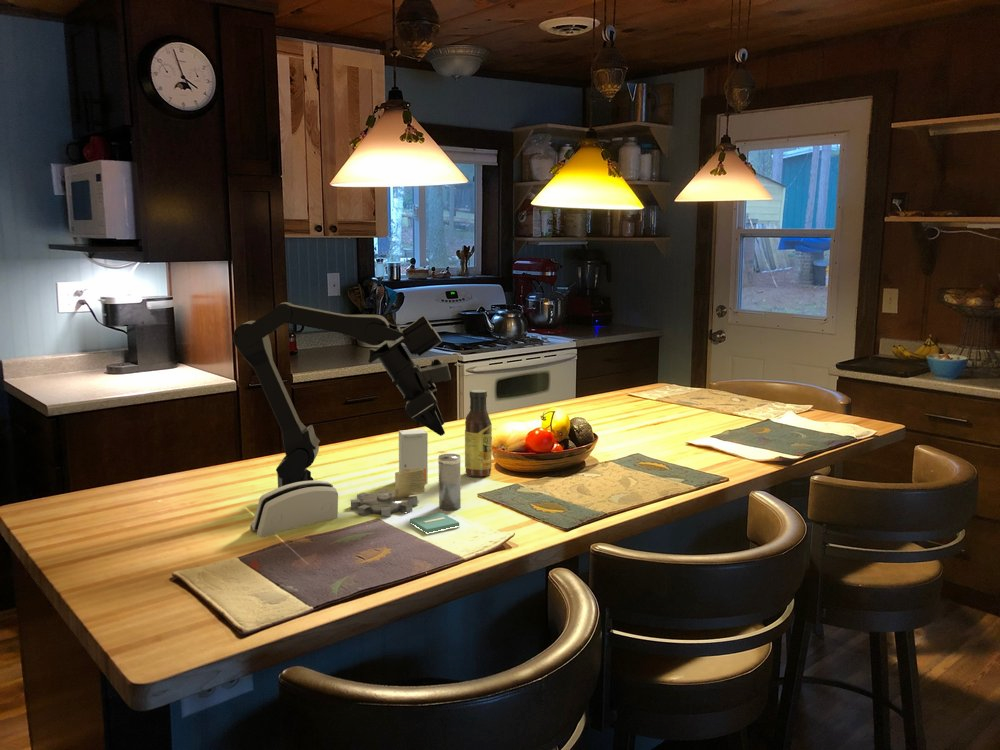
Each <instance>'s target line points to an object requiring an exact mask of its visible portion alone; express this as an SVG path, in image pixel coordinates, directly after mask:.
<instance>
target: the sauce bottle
mask: <svg viewBox="0 0 1000 750" xmlns="http://www.w3.org/2000/svg"><path fill="white" fill-rule="evenodd" d="M487 397H488V391H487V390H484V389H472V390H469V399H470V400H469V402H470V404H469V409H470V410H469V412H468V413H467V415H466V416H465V422H464V423H465V427H464V428H465V430H464V467H465V474H466V475H467V476H469V477H473V478H474V477H475V478H482V477H486V476H489V475H491V473H492V467H493V466H492V457H493V456H492V448H493V447H492V444H493V443H492V442H493V441H492V436H493V435H492V429H493V427H492V421H491V419H490V416H489V413H488V409H487Z"/></svg>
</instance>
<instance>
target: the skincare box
mask: <svg viewBox="0 0 1000 750" xmlns="http://www.w3.org/2000/svg"><path fill="white" fill-rule="evenodd" d="M428 438H429V437H428V432H427V431H426V429H424V428H423V429H421V428H420V429H407V430H405V429H403V430H398V472H402V471H408V470H414V469H419V468H421V469H423V470H424V483H425V485H428V484H429V483H428V482H429V481H428V472H429V471H428V460H429V459H428V452H429V451H428V447H429V446H428V445H429V443H428V440H429V439H428Z"/></svg>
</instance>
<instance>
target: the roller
mask: <svg viewBox="0 0 1000 750" xmlns="http://www.w3.org/2000/svg"><path fill="white" fill-rule="evenodd" d="M437 462H438V508H440V510H441V509H442V511H446V512H454V511H458V510H460V509H461V503H462V502H461V500H462V499H461V494H462V493H461V455H460V454H457V453H442V454H439V455H438V459H437Z"/></svg>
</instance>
